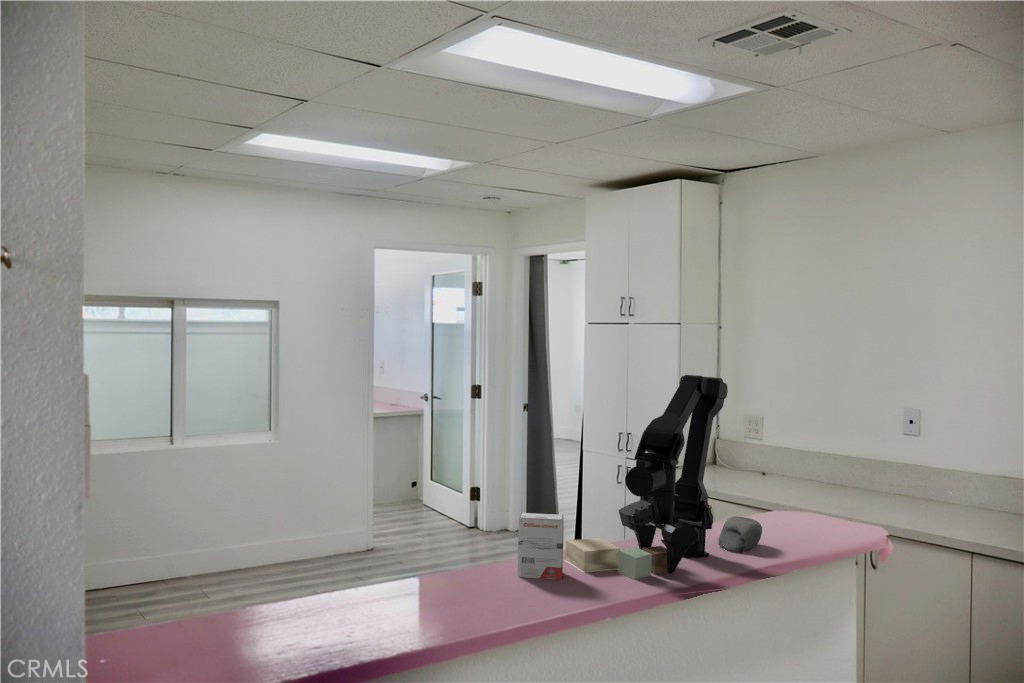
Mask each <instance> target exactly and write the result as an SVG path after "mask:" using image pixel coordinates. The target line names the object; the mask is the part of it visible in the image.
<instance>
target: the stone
mask: <svg viewBox="0 0 1024 683" xmlns="http://www.w3.org/2000/svg"><path fill="white" fill-rule="evenodd" d="M762 534H763V527H762V524H761V523H760V522H759V521H757V520H756V519H753V518H750V517H745V516H731V517H728V518H727V520H726V521H725V522H724V524H723V526H722V529H721V532H720V534H719V536H718V540H717V541H718V545H719V548H721V547H722V548H724V549H725V550H724V551H726V550H727V551H726V552H729V551H730V553H734V552H738V553H743V551H744V552H746V550H747V551H749V550H752V549H753V547H754V548H755V547H756V546H757V545H758V544H759V542H760V540H761V538H762ZM722 548H721V549H722ZM751 548H752V549H751ZM748 549H749V550H748Z"/></svg>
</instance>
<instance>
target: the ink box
mask: <svg viewBox="0 0 1024 683" xmlns="http://www.w3.org/2000/svg"><path fill="white" fill-rule="evenodd" d="M564 519H565V517H564V514H556V513H555V514H552V513H551V514H549V513H533V512H532V513H530V512H521V513H520V515H519V518H518V540H517V541H518V544H517V577H519V578H531V579H544V580H558V581H559V580H563V573H564V569H563V568H564V567H563V566H564V560H563V559H564V523H565V522H564Z"/></svg>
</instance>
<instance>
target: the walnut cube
mask: <svg viewBox="0 0 1024 683" xmlns="http://www.w3.org/2000/svg"><path fill="white" fill-rule="evenodd" d="M642 550H644V551H646V552H648V553H651V554H652V564H651V575H652V574H653V575H663V574H669V573H668V569H667V550H666V546H662V545H654V546H652V547H643V548H642Z"/></svg>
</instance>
